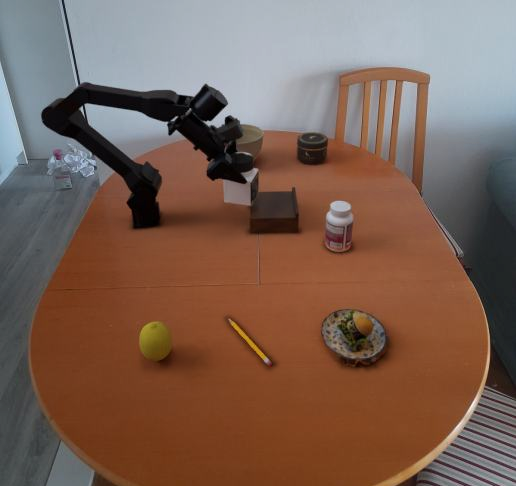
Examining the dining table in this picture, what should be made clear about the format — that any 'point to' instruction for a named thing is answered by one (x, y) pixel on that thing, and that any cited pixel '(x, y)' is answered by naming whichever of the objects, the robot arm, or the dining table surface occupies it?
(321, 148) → the jar
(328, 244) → the pill bottle
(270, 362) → the pencil
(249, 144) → the planter bowl
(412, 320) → the dining table surface
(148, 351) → the lemon
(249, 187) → the medicine bottle
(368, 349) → the food bowl
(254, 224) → the dark brown lipped tray
